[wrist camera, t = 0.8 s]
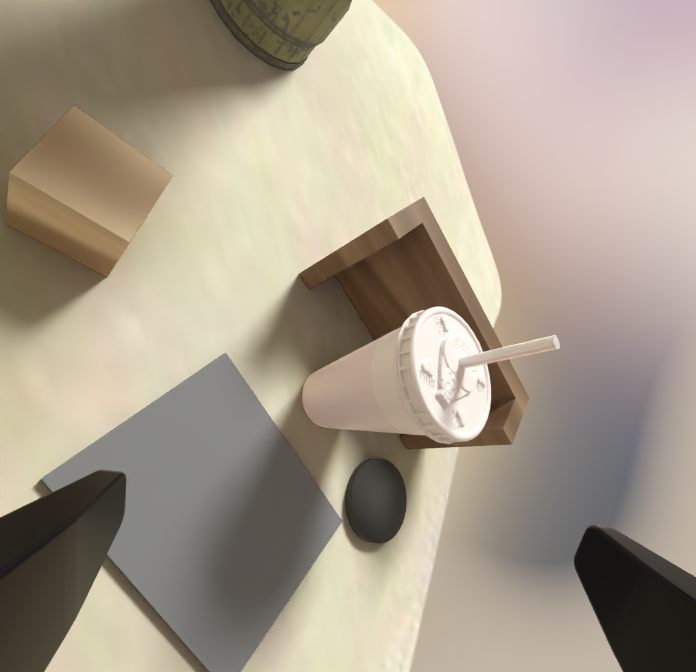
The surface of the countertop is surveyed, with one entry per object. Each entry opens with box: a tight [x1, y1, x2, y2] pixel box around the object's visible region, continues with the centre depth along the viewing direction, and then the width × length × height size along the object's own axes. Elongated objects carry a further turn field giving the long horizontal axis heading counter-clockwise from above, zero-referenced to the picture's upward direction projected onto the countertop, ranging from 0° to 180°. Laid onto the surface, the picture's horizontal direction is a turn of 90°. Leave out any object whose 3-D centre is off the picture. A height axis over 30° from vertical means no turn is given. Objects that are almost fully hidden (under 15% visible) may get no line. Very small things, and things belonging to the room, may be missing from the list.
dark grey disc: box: [346, 459, 407, 543], centre depth 25 cm, size 5×5×1 cm
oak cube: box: [5, 105, 173, 277], centre depth 16 cm, size 4×4×4 cm
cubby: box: [300, 197, 529, 449], centre depth 26 cm, size 5×15×8 cm, turn 46°
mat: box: [41, 353, 342, 672], centre depth 19 cm, size 9×12×1 cm
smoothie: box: [302, 307, 559, 444], centre depth 20 cm, size 6×6×14 cm
